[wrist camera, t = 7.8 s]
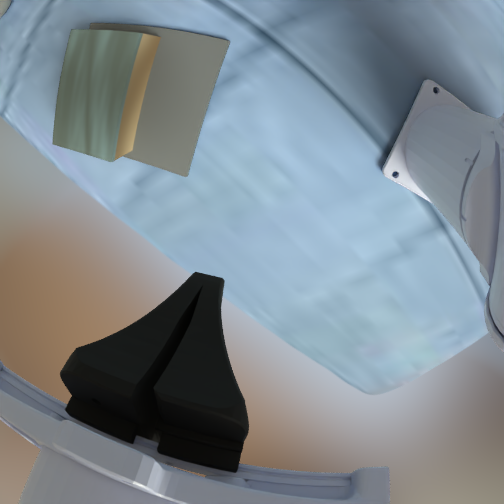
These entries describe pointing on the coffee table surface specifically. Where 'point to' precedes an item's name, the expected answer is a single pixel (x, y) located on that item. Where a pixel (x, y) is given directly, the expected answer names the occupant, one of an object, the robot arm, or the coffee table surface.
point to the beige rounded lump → (4, 6)
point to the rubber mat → (174, 95)
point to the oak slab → (102, 91)
